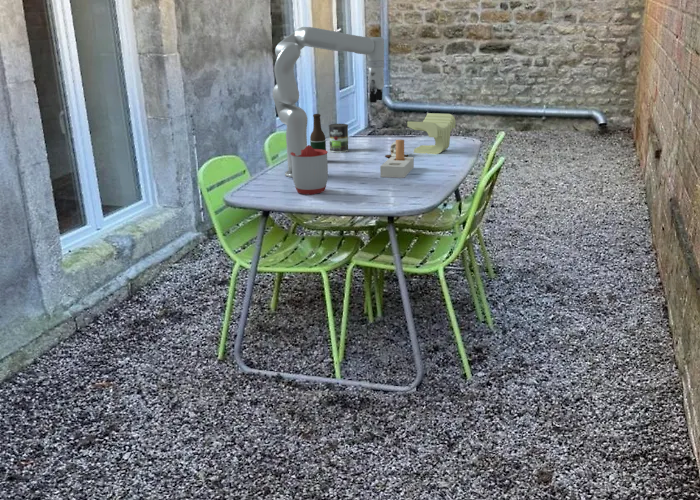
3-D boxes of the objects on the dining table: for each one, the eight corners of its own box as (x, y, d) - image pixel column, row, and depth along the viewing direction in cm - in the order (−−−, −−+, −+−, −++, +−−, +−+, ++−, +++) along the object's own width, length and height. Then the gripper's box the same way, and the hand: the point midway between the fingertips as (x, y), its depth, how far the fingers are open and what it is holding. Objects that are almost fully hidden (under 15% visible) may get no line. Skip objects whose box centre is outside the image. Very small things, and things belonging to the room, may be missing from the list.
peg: (403, 170, 340) (403, 141, 336) (395, 170, 342) (394, 141, 337) (405, 168, 344) (405, 139, 340) (396, 168, 345) (396, 139, 341)
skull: (409, 156, 366) (395, 142, 365) (394, 170, 370) (381, 155, 368) (410, 151, 377) (397, 137, 376) (396, 164, 381) (383, 150, 379)
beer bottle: (327, 160, 370) (325, 112, 362) (325, 163, 362) (323, 115, 355) (312, 160, 371) (310, 113, 363) (310, 163, 363) (307, 115, 356)
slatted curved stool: (436, 157, 367) (437, 122, 361) (407, 155, 374) (407, 121, 368) (455, 147, 392) (455, 114, 387) (427, 145, 399) (427, 113, 393)
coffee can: (345, 153, 386) (344, 126, 382) (327, 152, 389) (326, 126, 385) (351, 149, 395) (350, 123, 391) (333, 148, 398) (332, 123, 394)
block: (404, 177, 326) (404, 166, 325) (380, 177, 329) (380, 166, 328) (413, 167, 346) (413, 157, 345) (391, 166, 349) (391, 156, 348)
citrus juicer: (306, 185, 319) (304, 140, 312) (336, 190, 308) (335, 143, 302) (282, 192, 307) (279, 146, 301) (312, 198, 297) (309, 150, 290)
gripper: (378, 65, 331) (378, 103, 337) (388, 63, 347) (388, 99, 352) (362, 65, 333) (363, 103, 339) (373, 63, 349) (373, 99, 354)
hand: (376, 101), depth 345 cm, fingers open, 9 cm apart
